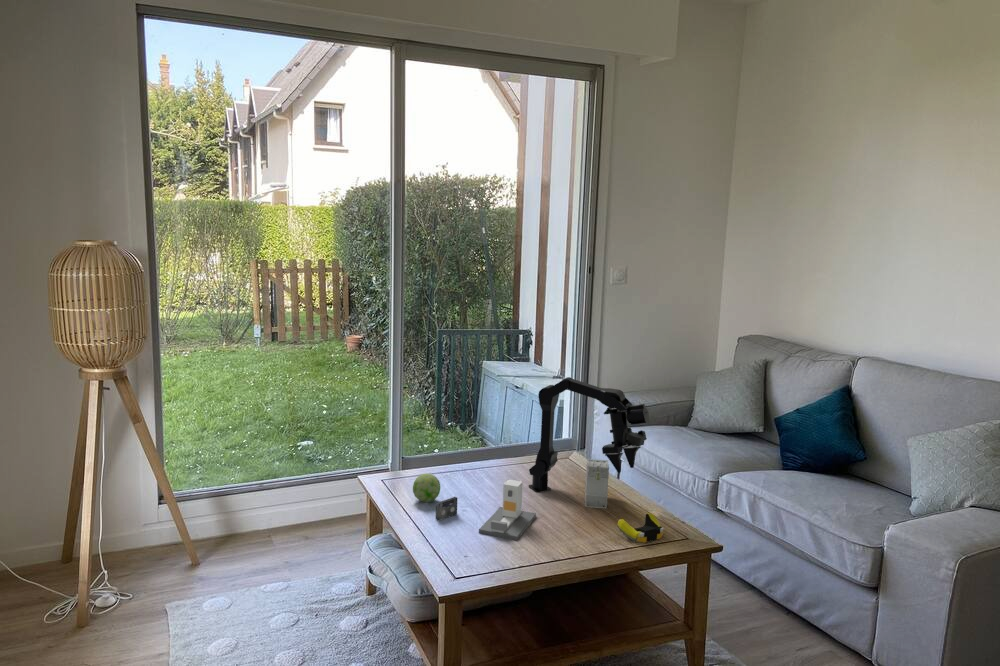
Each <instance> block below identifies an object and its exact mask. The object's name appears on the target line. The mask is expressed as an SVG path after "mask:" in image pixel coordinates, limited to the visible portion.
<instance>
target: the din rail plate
mask: <svg viewBox="0 0 1000 666" xmlns="http://www.w3.org/2000/svg"><path fill="white" fill-rule="evenodd" d="M502 514H503V506H499V508H498V509H497V510H496V511H495V512H494V513H493V514H492V515H491V516H490V517H489V518H488V519H487V520H486V521H485V522H484V523H483V524H482V526H481V527H480V528H479V529H478V534H482V533H483V534H484V535H489V536H493V537H498V538H504V539H510V540H514V541H518V540H519V539H520V537H521V536H522V535H521V534H523V533H525V531H526V530H527V528H528V527H529V526H530V525H531V524H532V522H533V521H534V520H535V518H536V517H537V513H535V512H531V511H527V510H526V511H525V510H523V509H522V510H521V515H520V516H519V518H518V519H517V520H516V518H512V517H507V516H505V517H503V516H502Z"/></svg>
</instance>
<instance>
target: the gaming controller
mask: <svg viewBox="0 0 1000 666" xmlns="http://www.w3.org/2000/svg"><path fill="white" fill-rule="evenodd" d="M617 528H618V530H619V531H620V532H621V533H622V534H623V535H624V536H626V537H627V538H628V539H630V540H632V541H633V542H634V541H635V543H648V542H653V541H657V540H660V539H661V538H662V537H663V535H664V530H665V529H664V527H663V526H662V525H661V524H660V523H659V521H658V519H657V518H656V516H655V514H653V513H651V512H648V513H645V519H644V525H643V526H640V527H635V528H634V527H632V526H631V525H630V524H629V523H628V522H627V521H625V520H624V519H623V518H621V519H619V520H618V522H617ZM656 539H657V540H656ZM652 540H653V541H652Z"/></svg>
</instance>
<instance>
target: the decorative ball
mask: <svg viewBox="0 0 1000 666" xmlns="http://www.w3.org/2000/svg"><path fill="white" fill-rule="evenodd" d="M440 482H441V481H440V480H439V479H438V477H437V476H435V475H434V474H431V473H422V474H420V475H418V476H417V477H416V478H415V479H414V481H413V484H412V493H413V495H414V497H415V498H416V499H417V500H418V501H420V502H423V503H431V502H433V501H434V500H436V499H437V498H438V497H439V495H440V491H441V483H440Z"/></svg>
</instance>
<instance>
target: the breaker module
mask: <svg viewBox="0 0 1000 666" xmlns="http://www.w3.org/2000/svg"><path fill="white" fill-rule="evenodd" d="M523 483H524V482H523V481H521V480H515V479H507V481H505V482H504V483H503V491H502V492H503V493H502V507H503V514H502V516H503V517H505V516H507V517H512V518H516V520H517V519H518V518H519V516H520V515H521V510H522V511H523V509H522V507H523V486H524V485H523Z"/></svg>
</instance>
